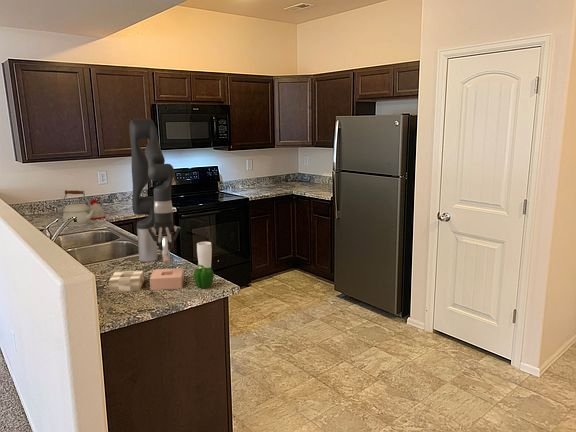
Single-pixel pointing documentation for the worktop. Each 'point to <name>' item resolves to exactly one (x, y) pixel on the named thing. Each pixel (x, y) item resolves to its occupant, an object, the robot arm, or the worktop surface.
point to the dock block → (167, 279)
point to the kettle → (77, 211)
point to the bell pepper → (203, 277)
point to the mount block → (126, 281)
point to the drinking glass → (204, 254)
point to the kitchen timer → (96, 210)
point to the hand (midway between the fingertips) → (165, 250)
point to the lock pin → (165, 250)
